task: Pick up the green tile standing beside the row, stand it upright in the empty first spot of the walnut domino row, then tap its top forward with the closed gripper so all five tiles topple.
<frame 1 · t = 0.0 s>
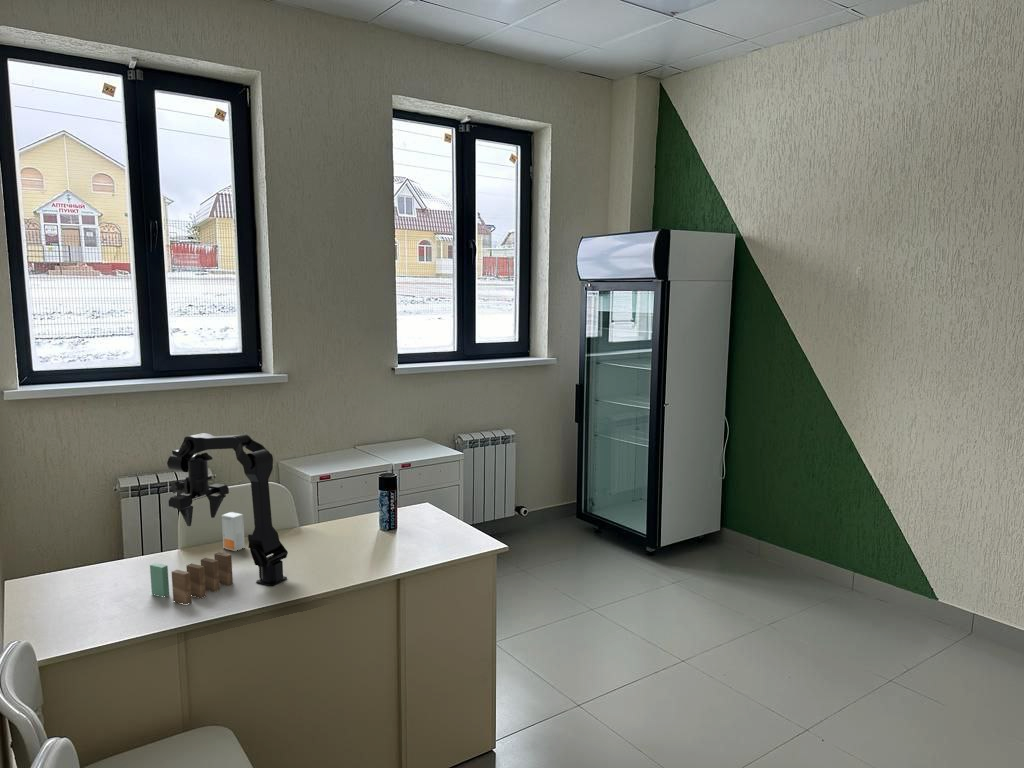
hand: (201, 521, 223), 15 cm above the table, tool pointing down, fingers open, 9 cm apart
tile 5: (182, 602, 198), on the table
tile 3: (211, 589, 207), on the table
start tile: (160, 595, 203), on the table
skincare box: (234, 548, 241), on the table
tile 2: (224, 583, 211), on the table
tile 4: (197, 595, 202), on the table
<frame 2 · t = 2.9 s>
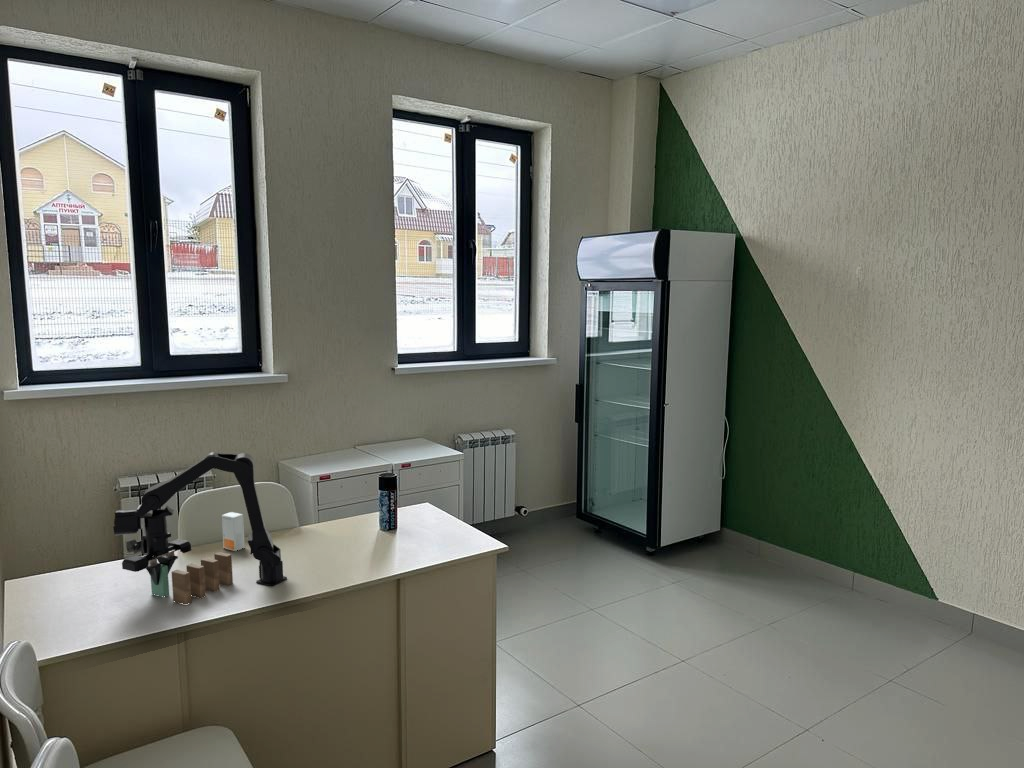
hand: (159, 583, 203), 4 cm above the table, tool pointing down, fingers closed on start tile, 2 cm apart
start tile: (160, 595, 203), on the table, touching gripper
everything else where it was.
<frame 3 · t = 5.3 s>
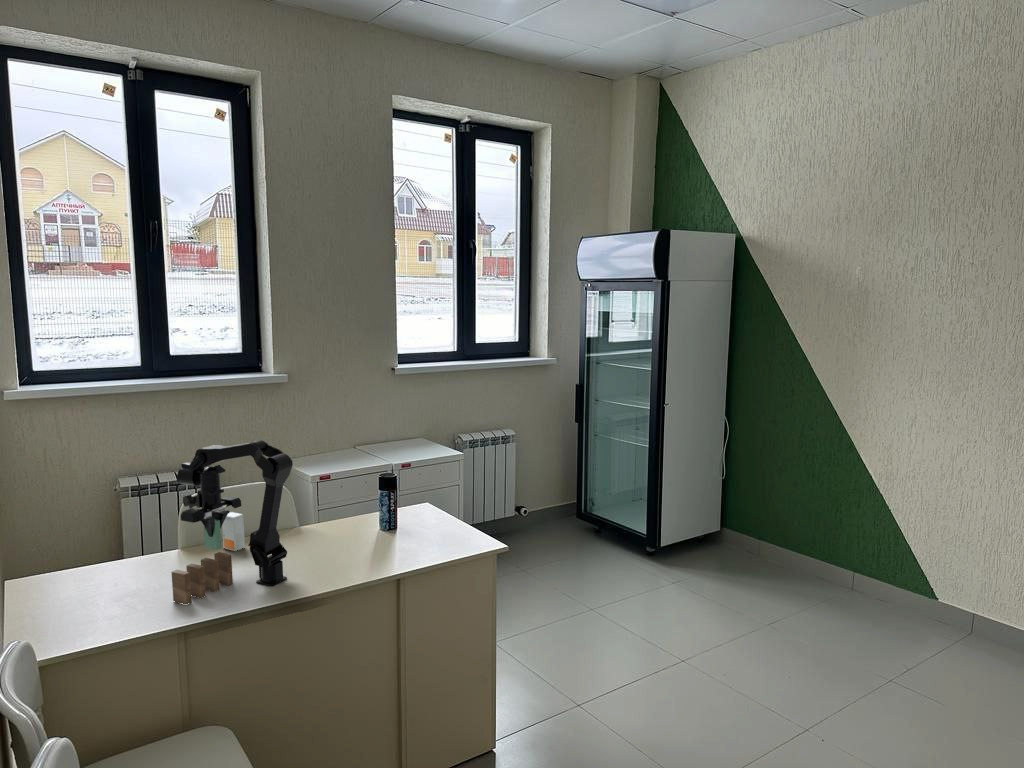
hand: (213, 535, 218), 12 cm above the table, tool pointing down, fingers closed on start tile
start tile: (213, 547, 219), point 8 cm above the table, touching gripper
everything else where it was.
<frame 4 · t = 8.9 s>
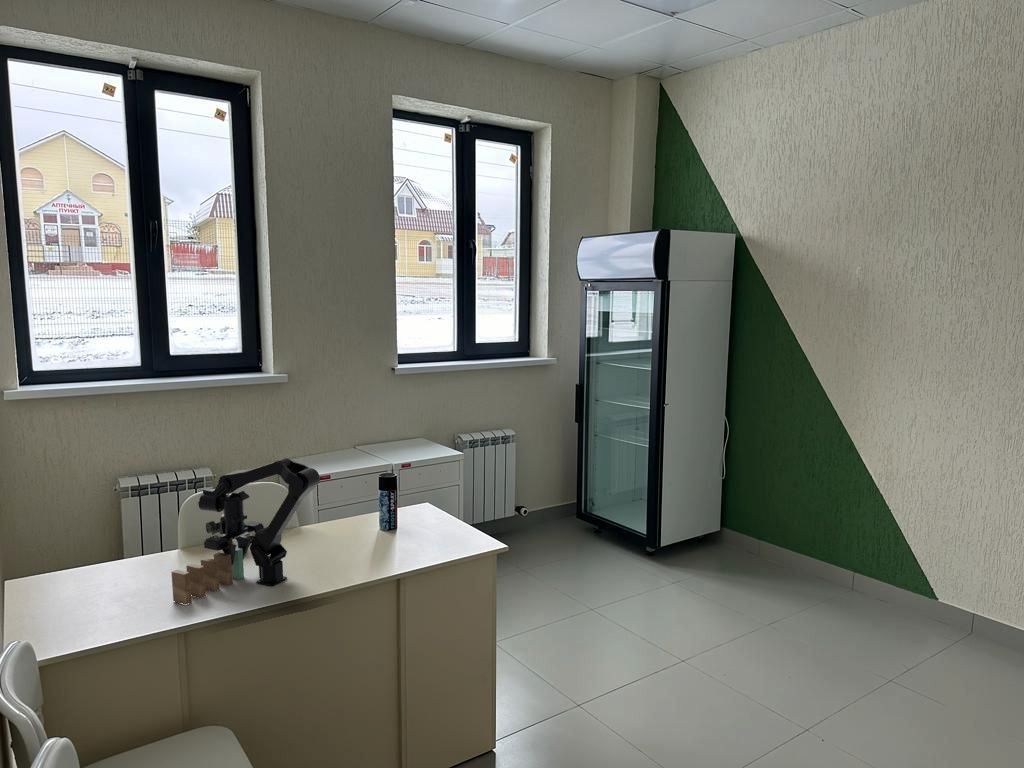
hand: (236, 562, 215), 5 cm above the table, tool pointing down, fingers open, 4 cm apart
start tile: (235, 576, 216), on the table
everything else where it was.
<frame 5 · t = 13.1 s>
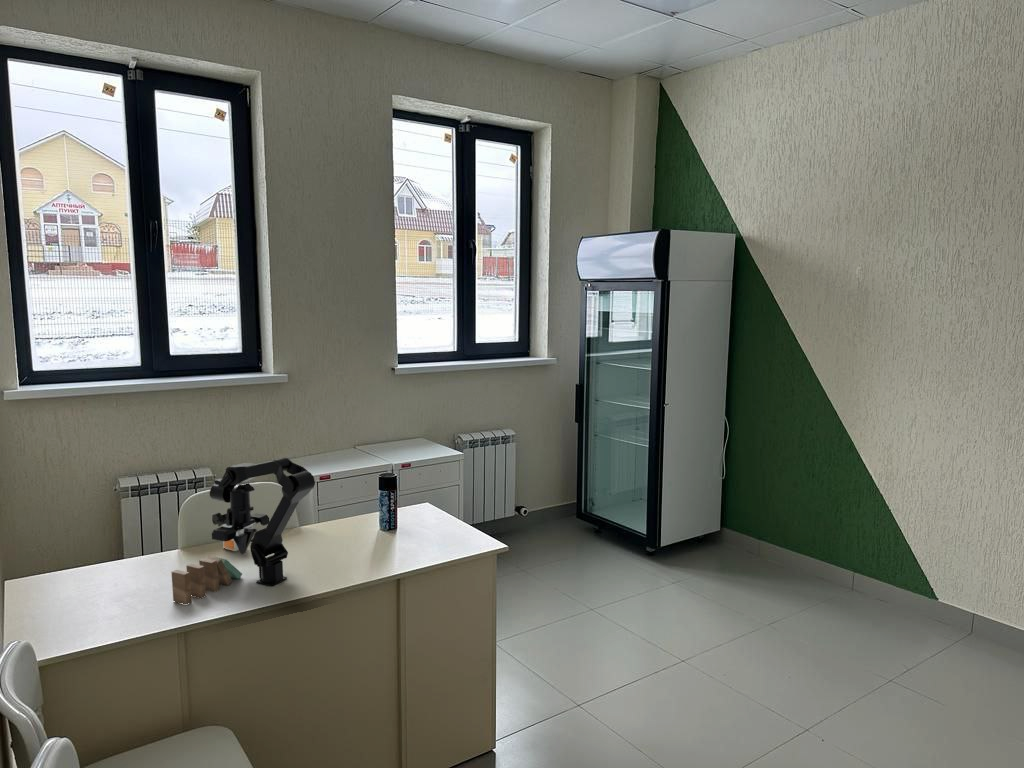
hand: (242, 553, 218), 7 cm above the table, tool pointing down, fingers closed
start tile: (234, 575, 216), point 1 cm above the table, tilted 41°
tile 2: (224, 581, 211), on the table, tilted 24°
everything else where it was.
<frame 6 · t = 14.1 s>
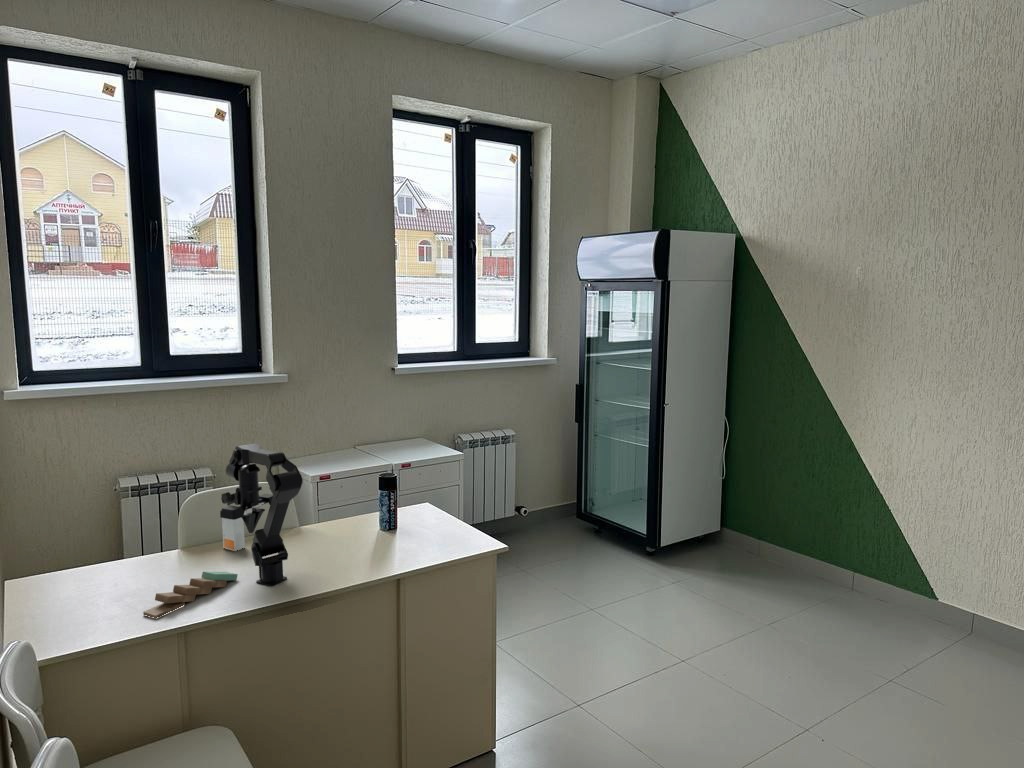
hand: (251, 532, 220), 12 cm above the table, tool pointing down, fingers closed
tile 5: (178, 603, 197), on the table, tilted 90°
tile 3: (205, 589, 205), point 1 cm above the table, tilted 70°, touching tile 2
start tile: (230, 575, 215), point 1 cm above the table, tilted 69°, touching tile 2
tile 2: (219, 582, 210), point 1 cm above the table, tilted 70°, touching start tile, tile 3
tile 4: (189, 596, 200), point 1 cm above the table, tilted 72°
everything else where it was.
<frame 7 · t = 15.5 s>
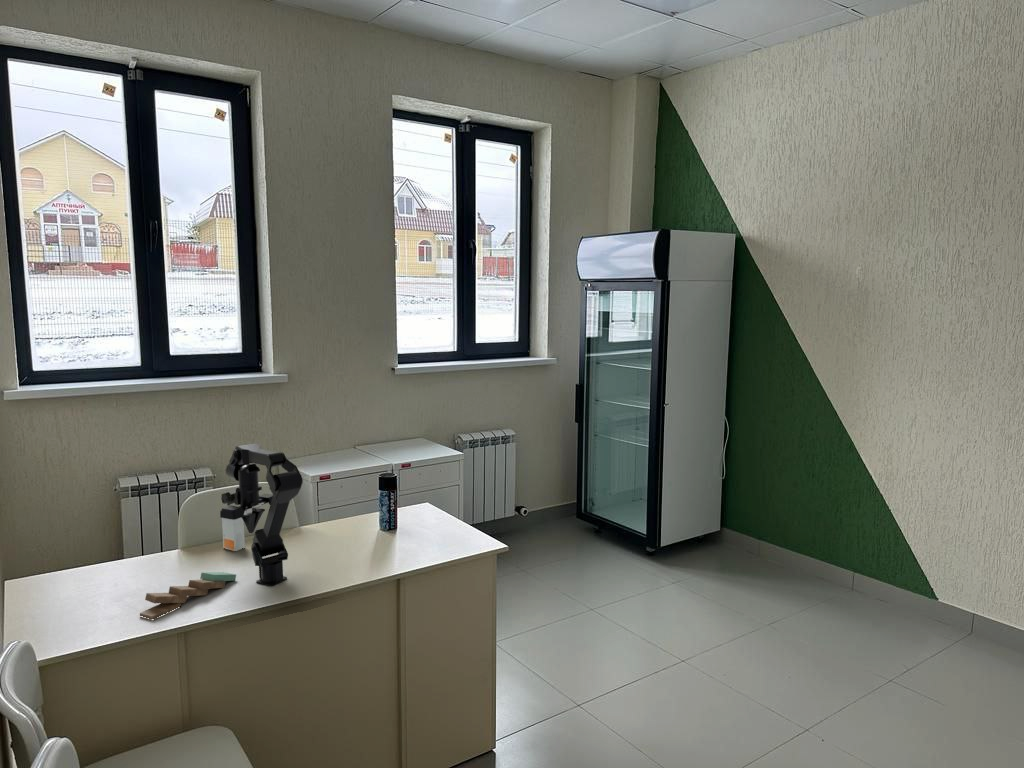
hand: (251, 532, 220), 12 cm above the table, tool pointing down, fingers closed
tile 5: (175, 604, 196), on the table, tilted 90°, touching tile 4
tile 3: (201, 590, 204), point 1 cm above the table, tilted 71°
tile 2: (218, 583, 209), point 1 cm above the table, tilted 71°, touching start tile
tile 4: (181, 597, 198), point 1 cm above the table, tilted 71°, touching tile 5
everything else where it was.
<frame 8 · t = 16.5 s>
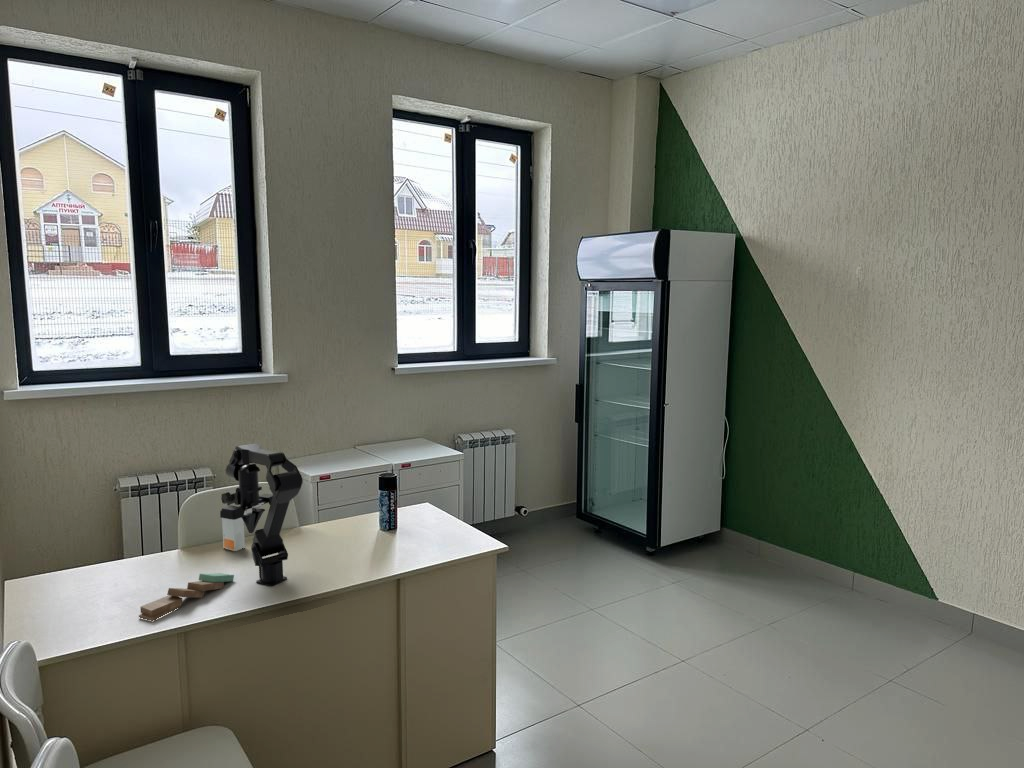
hand: (251, 532, 220), 12 cm above the table, tool pointing down, fingers closed
tile 3: (196, 593, 202), point 1 cm above the table, tilted 66°, touching tile 2, tile 4
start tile: (226, 577, 214), point 1 cm above the table, tilted 70°, touching tile 2
tile 2: (216, 584, 209), point 1 cm above the table, tilted 73°, touching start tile, tile 3
tile 4: (176, 599, 196), point 2 cm above the table, tilted 90°, touching tile 3, tile 5
at the end: tile 5 tilted 90°; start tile tilted 70° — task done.
